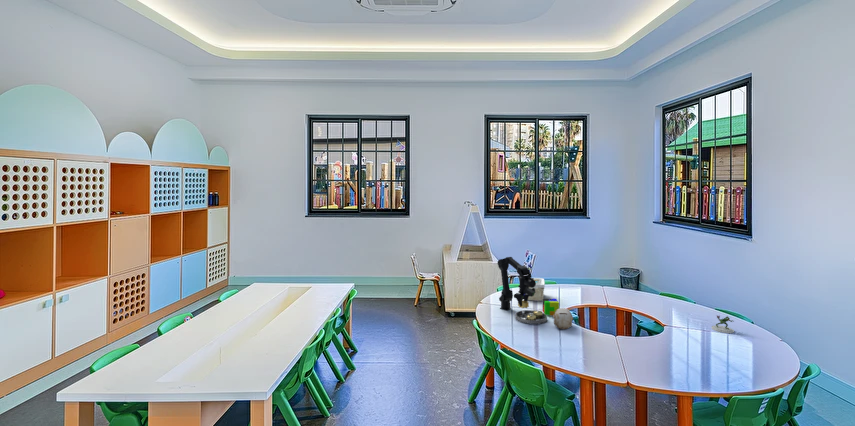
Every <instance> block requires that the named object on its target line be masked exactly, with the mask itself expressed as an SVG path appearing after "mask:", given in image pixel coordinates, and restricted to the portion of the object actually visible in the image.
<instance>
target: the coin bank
mask: <svg viewBox="0 0 855 426" xmlns="http://www.w3.org/2000/svg"><path fill="white" fill-rule="evenodd" d="M552 318H553V323H554V325H555V326H556V328H558V329H560V330H568V329H569V328H570V327H573V320H574V317H573V315H572V313H571V311H570V310H569V309H568V308H564V307H561V308H560V307H559V309H557V310H556V312H555V314H554V315H552Z"/></svg>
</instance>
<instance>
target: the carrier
mask: <svg viewBox="0 0 855 426" xmlns="http://www.w3.org/2000/svg"><path fill="white" fill-rule="evenodd" d="M514 316H515V317H514V318H515V321H517V322H519V323H521V324H525V325H542V324H545V323H546V322H547V320H548V317H547V316H548V315H546V314H544V312H543V310H542V311H541V310H532V309H531V310H529V309H524V310H518V311H517V312H515V313H514Z"/></svg>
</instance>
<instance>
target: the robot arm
mask: <svg viewBox="0 0 855 426" xmlns="http://www.w3.org/2000/svg"><path fill="white" fill-rule="evenodd" d="M497 265H498V269H499V270H500V273H501V283H502V284H501V285H502V291H501V295H500V297H498V299H499V301H500V307H499V309H500V310H505V311H508V310H510V309H511V308H512V307H511V302H512V301H513V298H514V299H516V300H517V304H518V303H519V305H520V306H522V301H523V300H524V301H529V300H528V297H529V296H531V297H532V296H534V294H535V293H536V291H535V288H533V287H535V285H536V282H537V281H535V280H534V278H535V277H533V276H532V274H531V271H530V269H529V268H528V267H527V266H525V265H522V264H520V263H519V262H518V261H517V260H516V259H514V258H513V257H512V256H507V257H505V258H499V259H498V261H497ZM509 266H511V267H512V268H514V270H516V273H517V274H518V276H517V278H519V285H518V288H519V289H518V292H516V293H515V294H514V293H513V290H511V288H510V283H509V281H510V280H509V273H508V269H509ZM529 287H531V288H532V289H530V288H529Z"/></svg>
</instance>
